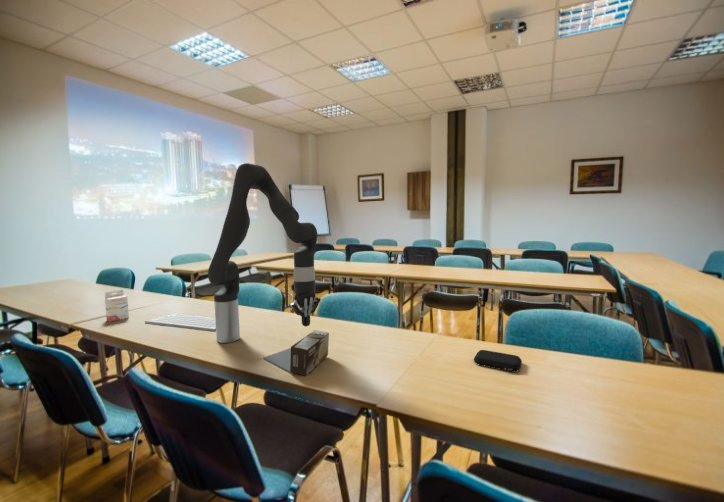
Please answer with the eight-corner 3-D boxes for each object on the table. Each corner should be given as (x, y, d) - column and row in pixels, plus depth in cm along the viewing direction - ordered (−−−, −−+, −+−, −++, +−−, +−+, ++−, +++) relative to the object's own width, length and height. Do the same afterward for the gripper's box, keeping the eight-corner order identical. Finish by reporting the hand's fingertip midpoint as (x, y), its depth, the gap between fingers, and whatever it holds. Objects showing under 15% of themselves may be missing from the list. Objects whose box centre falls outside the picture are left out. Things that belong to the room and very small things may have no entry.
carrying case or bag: (471, 367, 115) (519, 376, 108) (471, 358, 115) (519, 367, 108) (478, 355, 125) (522, 363, 117) (478, 347, 124) (522, 355, 117)
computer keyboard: (240, 321, 171) (240, 318, 170) (212, 333, 153) (212, 329, 153) (176, 313, 186) (176, 310, 185) (144, 324, 168) (144, 320, 168)
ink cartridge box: (110, 322, 170) (107, 293, 169) (106, 320, 173) (103, 292, 172) (129, 317, 177) (127, 290, 176) (125, 316, 180) (123, 289, 179)
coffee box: (313, 329, 125) (290, 345, 110) (329, 332, 123) (307, 348, 108) (313, 353, 126) (289, 371, 111) (328, 356, 124) (306, 376, 109)
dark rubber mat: (263, 358, 124) (263, 357, 124) (293, 348, 133) (293, 347, 133) (292, 374, 111) (292, 372, 111) (322, 361, 121) (322, 360, 121)
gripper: (312, 275, 129) (313, 319, 130) (282, 280, 119) (284, 328, 121) (325, 277, 124) (326, 323, 125) (295, 282, 114) (297, 332, 116)
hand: (306, 325), depth 123 cm, fingers closed
